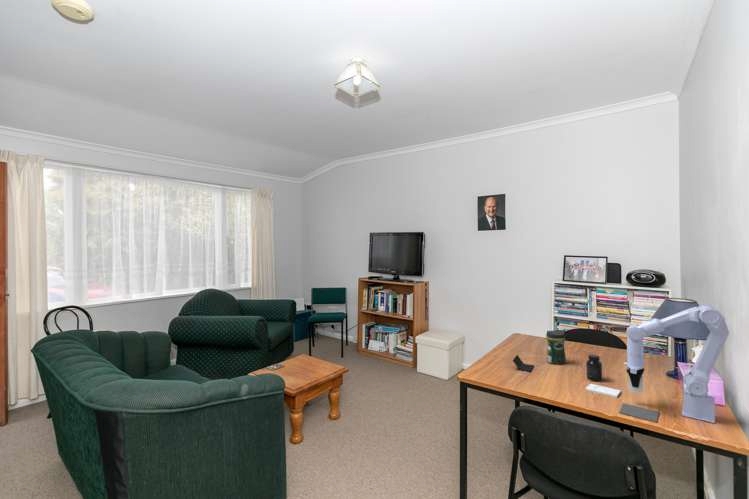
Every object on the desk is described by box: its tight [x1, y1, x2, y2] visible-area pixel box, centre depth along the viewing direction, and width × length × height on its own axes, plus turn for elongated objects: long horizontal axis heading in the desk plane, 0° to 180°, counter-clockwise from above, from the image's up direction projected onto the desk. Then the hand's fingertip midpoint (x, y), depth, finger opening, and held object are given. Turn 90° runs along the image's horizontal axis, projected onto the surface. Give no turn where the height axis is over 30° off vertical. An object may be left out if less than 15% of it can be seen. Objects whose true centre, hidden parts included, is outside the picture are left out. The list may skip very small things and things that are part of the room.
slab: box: [627, 374, 644, 395], centre depth 152 cm, size 5×3×7 cm, turn 48°
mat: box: [618, 402, 660, 423], centre depth 144 cm, size 12×11×1 cm
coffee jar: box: [545, 330, 567, 365], centre depth 205 cm, size 10×8×19 cm
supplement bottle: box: [585, 354, 603, 383], centre depth 180 cm, size 7×7×12 cm
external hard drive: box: [585, 383, 622, 399], centre depth 165 cm, size 2×8×12 cm
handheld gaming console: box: [512, 354, 535, 373], centre depth 197 cm, size 12×7×10 cm
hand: (635, 385), depth 151 cm, fingers closed on slab, 3 cm apart
